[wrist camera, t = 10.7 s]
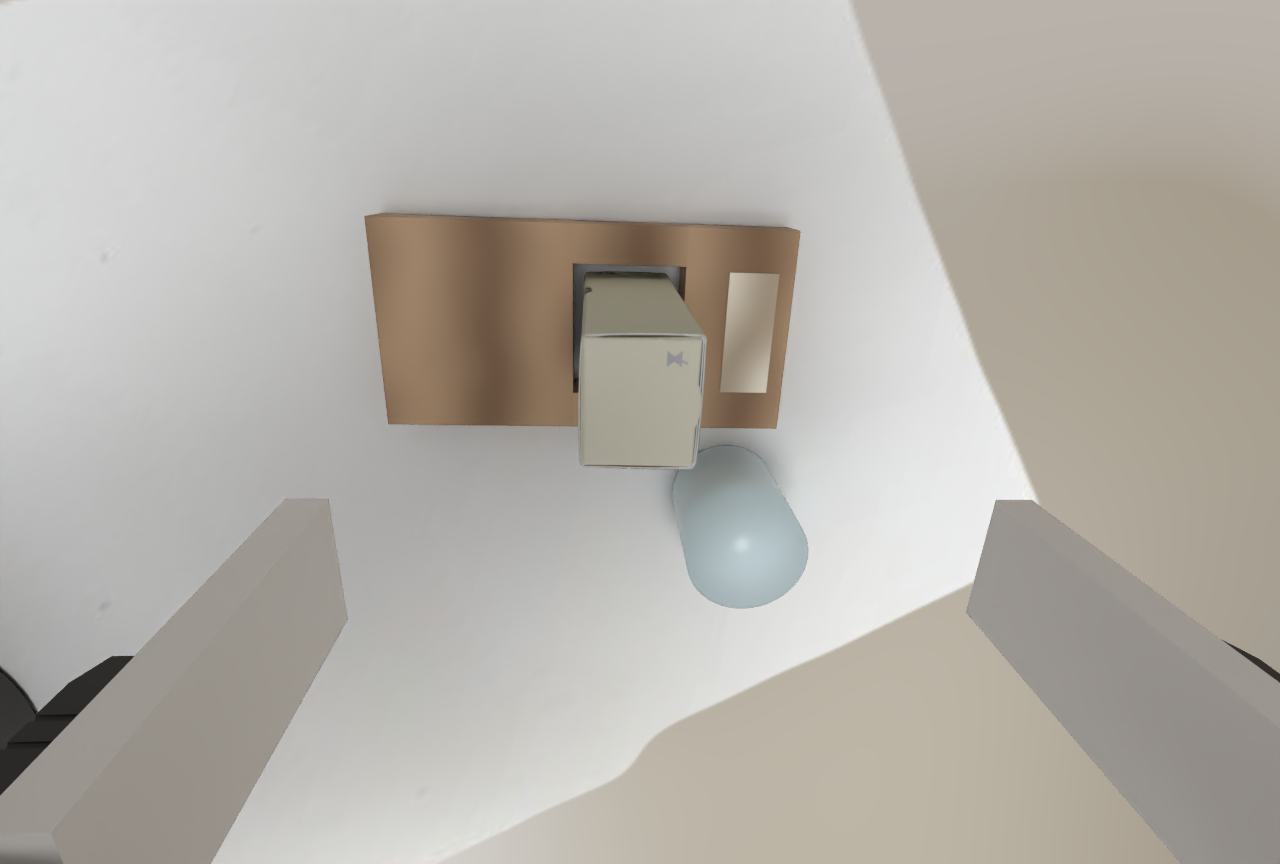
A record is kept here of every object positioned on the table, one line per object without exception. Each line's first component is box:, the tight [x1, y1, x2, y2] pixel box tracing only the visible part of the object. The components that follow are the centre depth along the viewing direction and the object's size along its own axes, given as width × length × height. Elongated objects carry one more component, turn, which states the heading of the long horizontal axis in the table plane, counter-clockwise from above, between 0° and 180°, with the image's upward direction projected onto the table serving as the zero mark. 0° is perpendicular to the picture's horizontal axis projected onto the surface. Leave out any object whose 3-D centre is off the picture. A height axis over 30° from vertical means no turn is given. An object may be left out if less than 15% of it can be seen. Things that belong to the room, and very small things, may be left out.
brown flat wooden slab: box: [365, 213, 800, 429], centre depth 32 cm, size 20×10×2 cm, turn 88°
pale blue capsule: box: [672, 445, 808, 608], centre depth 35 cm, size 6×6×7 cm
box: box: [578, 272, 707, 469], centre depth 28 cm, size 5×4×13 cm
